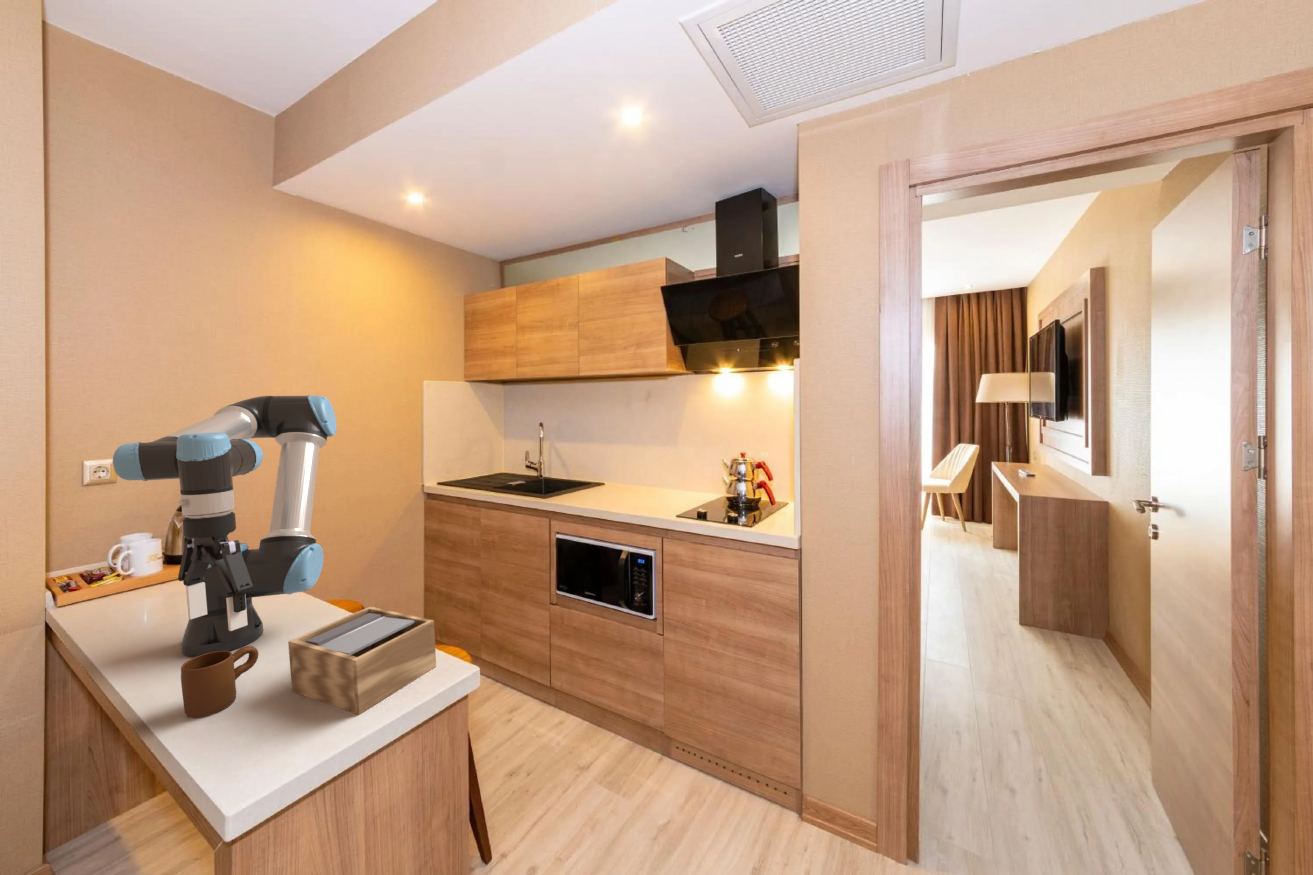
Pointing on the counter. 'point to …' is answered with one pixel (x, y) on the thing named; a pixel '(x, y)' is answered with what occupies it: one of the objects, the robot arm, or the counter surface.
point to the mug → (213, 680)
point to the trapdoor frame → (362, 664)
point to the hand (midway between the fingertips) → (217, 622)
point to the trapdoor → (359, 633)
